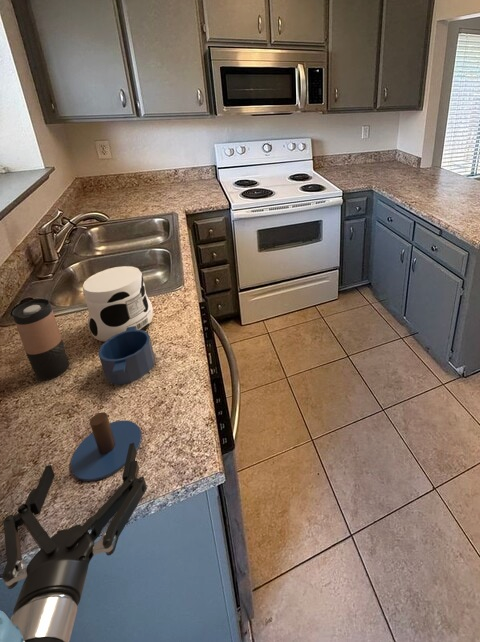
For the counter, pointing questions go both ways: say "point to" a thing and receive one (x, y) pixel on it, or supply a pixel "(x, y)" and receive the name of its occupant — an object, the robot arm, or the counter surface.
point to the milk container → (116, 302)
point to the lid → (104, 448)
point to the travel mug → (41, 338)
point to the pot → (127, 356)
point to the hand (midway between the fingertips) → (93, 458)
